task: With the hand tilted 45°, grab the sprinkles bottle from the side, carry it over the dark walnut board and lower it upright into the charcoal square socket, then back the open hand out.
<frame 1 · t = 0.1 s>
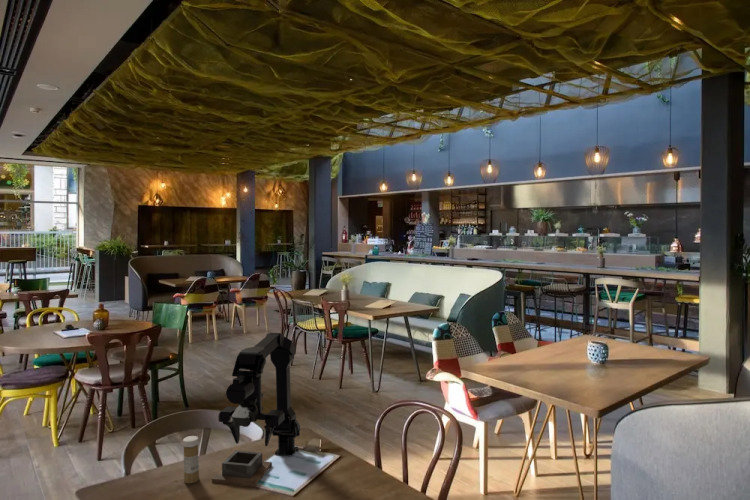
hand: (251, 444, 154), 15 cm above the table, tool pointing down, fingers open, 9 cm apart
sprinkles bottle: (191, 481, 162), on the table
socket board: (242, 473, 166), on the table
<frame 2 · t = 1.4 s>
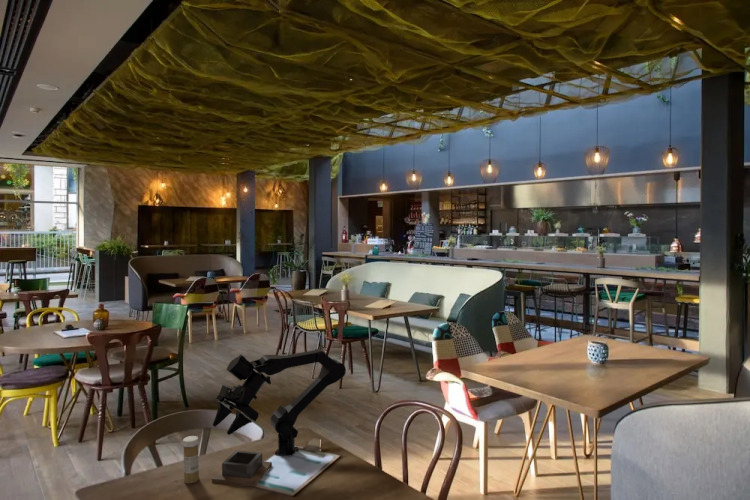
hand: (220, 429, 168), 13 cm above the table, tool tilted 45°, fingers open, 9 cm apart
nothing on the table moved.
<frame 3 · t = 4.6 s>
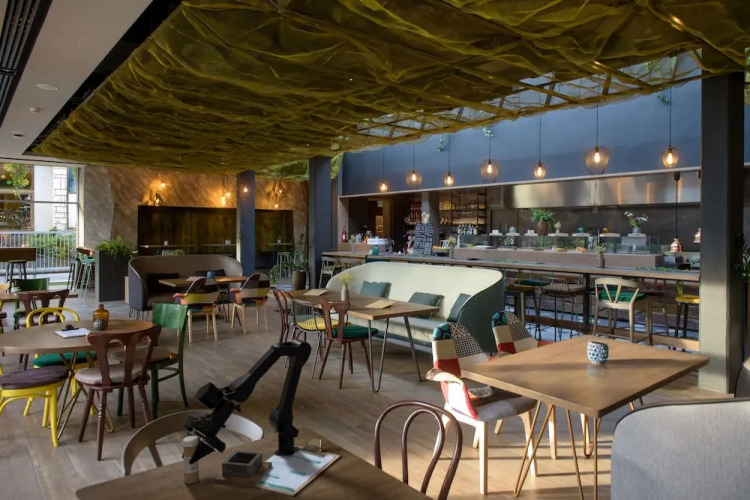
hand: (186, 461, 161), 7 cm above the table, tool tilted 45°, fingers open, 5 cm apart
sprinkles bottle: (191, 481, 162), on the table, touching gripper
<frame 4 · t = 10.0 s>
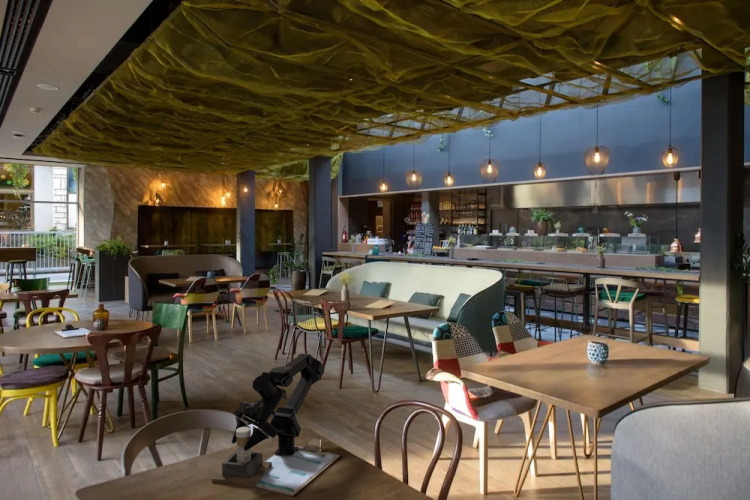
hand: (238, 446, 165), 9 cm above the table, tool tilted 45°, fingers open, 7 cm apart
sprinkles bottle: (244, 470, 166), point 1 cm above the table, touching socket board
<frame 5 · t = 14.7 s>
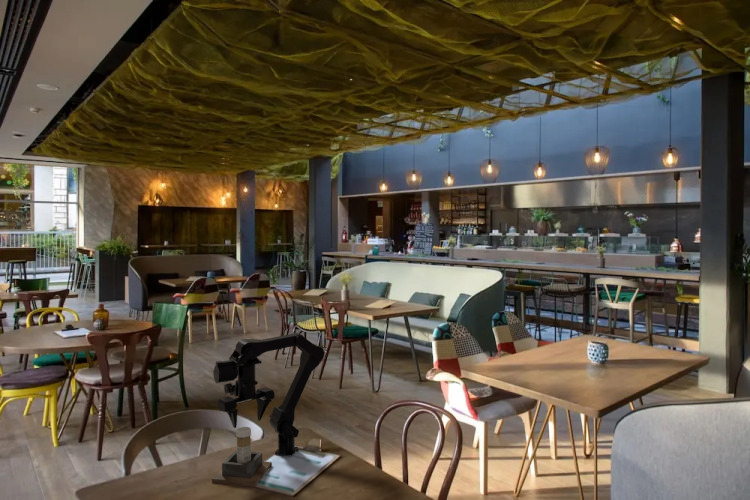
hand: (247, 423, 174), 13 cm above the table, tool pointing down, fingers open, 9 cm apart
nothing on the table moved.
at the end: sprinkles bottle 0.4 cm off-centre on the socket board, point 1.0 cm above the socket board's base; sprinkles bottle tilted 0°; the gripper is holding nothing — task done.
